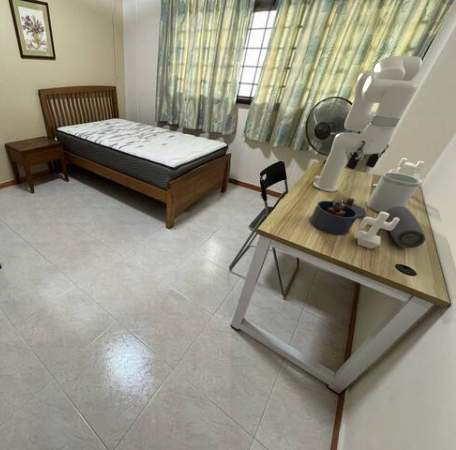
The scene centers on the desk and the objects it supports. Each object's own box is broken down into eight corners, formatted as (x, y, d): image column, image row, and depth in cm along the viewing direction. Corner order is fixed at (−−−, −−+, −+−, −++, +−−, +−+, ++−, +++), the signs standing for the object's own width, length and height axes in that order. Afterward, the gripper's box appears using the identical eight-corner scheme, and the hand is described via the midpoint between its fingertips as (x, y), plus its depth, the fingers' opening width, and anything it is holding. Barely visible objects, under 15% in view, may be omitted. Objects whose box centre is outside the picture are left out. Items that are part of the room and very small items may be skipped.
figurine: (351, 235, 104) (370, 205, 95) (379, 244, 99) (401, 213, 90) (350, 243, 99) (369, 212, 91) (378, 253, 94) (401, 221, 86)
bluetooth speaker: (377, 220, 115) (389, 202, 109) (402, 226, 111) (416, 208, 106) (387, 245, 98) (401, 225, 93) (416, 253, 95) (433, 233, 89)
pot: (302, 218, 115) (309, 202, 110) (328, 214, 118) (336, 199, 113) (329, 236, 102) (338, 220, 98) (356, 232, 106) (366, 216, 101)
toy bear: (320, 221, 111) (332, 199, 105) (328, 220, 112) (340, 198, 106) (329, 227, 107) (342, 204, 101) (337, 226, 108) (350, 203, 102)
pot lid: (320, 203, 127) (325, 193, 124) (343, 201, 131) (349, 190, 128) (347, 220, 114) (353, 208, 111) (372, 216, 118) (379, 205, 115)
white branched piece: (412, 192, 143) (435, 160, 132) (413, 200, 134) (437, 166, 123) (373, 183, 153) (391, 152, 142) (371, 190, 144) (390, 157, 133)
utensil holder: (362, 208, 125) (381, 176, 115) (366, 199, 134) (384, 169, 124) (399, 219, 117) (423, 186, 107) (400, 208, 126) (422, 177, 116)
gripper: (391, 119, 91) (367, 162, 101) (355, 120, 88) (334, 165, 97) (413, 123, 85) (385, 169, 95) (375, 124, 82) (351, 172, 91)
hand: (359, 167), depth 96 cm, fingers open, 9 cm apart
